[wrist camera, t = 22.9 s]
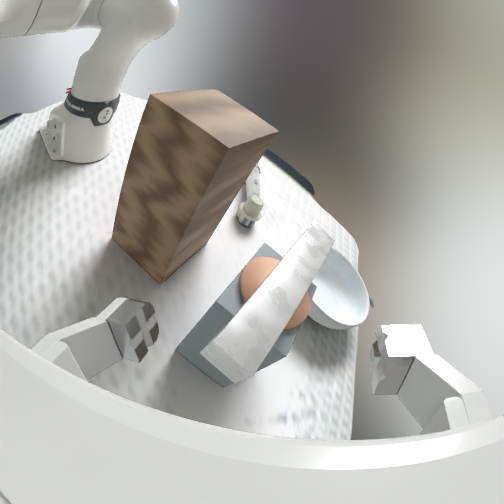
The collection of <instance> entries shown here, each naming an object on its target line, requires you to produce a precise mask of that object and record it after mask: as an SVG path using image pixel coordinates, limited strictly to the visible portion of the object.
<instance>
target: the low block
mask: <svg viewBox="0 0 504 504" xmlns="http://www.w3.org/2000/svg"><path fill="white" fill-rule="evenodd" d="M282 258H283V257H281V256H280V255H279V254H278V253H277V252H275V251H274V250H273V249H272V248H271V247H269V246H268V245H267V244H266V243H264V244H263V246H262V247H261V248H260V249H259V250H258V252H257V253H256V254H255V255H254V256H253V258H252V259H251V260H250V261H249V262H248V263H247V265H246V266H245V267H244V268H243V269H242V271H241V272H240V273H239V274H238V275H237V277H236V278H235V279H234V280H233V281H232V282H231V284H230V285H229V286H228V287H227V288H226V290H225V291H224V292H223V293H222V294H221V296H220V297H219V298H218V299H217V300H216V301H215V303H214V304H213V305H212V306H211V307H210V309H209V310H208V311H207V312H206V313H205V315H204V316H203V317H202V318H201V319H200V321H199V322H198V323H197V324H196V325H195V327H194V328H193V329H192V330H191V331H190V333H189V334H188V335H187V336H186V337H185V339H184V340H183V341H182V342H181V343H180V345H179V346H178V347H177V348H176V349H175V350H176V351H177V352H178V353H179V354H181V355H182V356H183V357H184V358H186V359H187V360H188V361H189V362H191V363H192V364H193V365H194V366H196V367H197V368H198V369H199V370H201V371H202V372H203V373H205V374H206V375H207V376H209V377H210V378H211V379H213V380H214V381H215V382H217V383H218V384H219V385H221V386H222V387H225V386H227V385H230V384H232V383H234V382H233V381H231V380H230V379H229V378H228V377H227V376H225V375H224V374H223V373H222V372H221V371H219V370H218V369H217V368H216V367H215V366H214V365H212V364H211V363H210V362H209V361H208V360H207V359H206V358H205V357H203V356H202V355H201V354H200V352H201V351H202V350H203V349H204V348H205V347H206V345H207V344H208V343H209V342H210V341H211V340H212V339H213V338H214V336H215V335H216V334H217V333H218V332H219V331H220V330H221V329H222V327H223V326H224V325H225V324H226V323H227V322H228V321H229V319H230V318H231V317H232V316H233V315H234V314H235V313H236V311H237V310H238V309H239V308H240V307H241V306H242V305H243V303H244V302H245V301H246V300H247V299H248V298H249V297H250V295H251V294H252V293H253V292H254V291H255V290H256V288H257V287H258V286H259V285H260V284H261V283H262V281H263V280H264V279H265V278H266V277H267V276H268V274H269V273H270V272H271V271H272V270H273V268H274V267H275V266H276V265H277V264H278V263H279V261H280V260H281V259H282ZM316 288H317V286H316V285H314V284H313V283H311V284H310V286H309V288H308V290H307V291H306V293H305V295H304V296H303V298H302V300H301V301H300V303H299V305H298V306H297V308H296V310H295V311H294V313H293V315H292V316H291V318H290V320H289V321H288V323H287V324H286V326H285V328H284V329H283V331H282V332H281V334H280V336H279V337H278V339H277V340H276V342H275V343H274V345H273V346H272V348H271V350H270V351H269V353H268V354H267V356H266V357H265V359H264V360H263V362H262V363H261V365H260V366H259V368H258V369H257V371H259V370H261V369H263V368H265V367H267V366H269V365H271V364H273V363H275V362H277V361H278V360H280V359H282V358H284V357H286V356H287V354H288V352H289V350H290V347H291V345H292V343H293V341H294V339H295V337H296V335H297V332H298V330H299V328H300V326H301V323H302V322H303V321H304V320H305V319H306V318H307V316H308V314H309V311H310V303H311V300H312V298H313V296H314V293H315V291H316ZM257 371H256V372H257Z"/></svg>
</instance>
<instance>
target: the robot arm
mask: <svg viewBox="0 0 504 504" xmlns="http://www.w3.org/2000/svg"><path fill="white" fill-rule="evenodd" d="M178 15H179V4H178V2H177V0H0V38H11V37H19V36H27V35H35V34H45V33H58V32H66V31H69V30H72V29H79V28H97V29H101V31H100V34H99V36H98V37H97V39H96V40H95V42H94V44H93V45H92V47H91V48H90V49H89V50H88V51H87V52H85V53H84V54H83V55H82V56H81V57H80V59H79V61H78V65H77V69H76V72H75V76H74V80H73V85H72V88H69V89H67V90H70V89H71V90H70V91H67V92H66V93H69V94H68V96H67V98H66V100H65V102H64V103H62V104H60V105H59V106H57V107H55V108H54V109H53V110H52V111H51V113H50V117H49V120H48V121H47V122H46V123H45V124H43V125H42V126H41V127H40V134H41V136H42V139H43V141H44V144H45V146H46V149H47V151H48V154H49V156H50V158H51V159H52V160H66V161H70V162H75V163H90V162H95V161H98V160H101V159H103V158H104V157H106V156H107V155H108V154H109V153H110V151H111V148H112V141H113V140H114V136H115V134H114V133H113V130H114V123H115V117H116V110H117V106H118V104H119V99H120V93H119V92H120V89H121V86H122V84H123V81H124V78H125V75H126V73H127V70H128V68H129V66H130V64H131V62H132V61H133V59H134V57H135V56H136V55H137V54H138V52H139V51H140V50H141V49H142V48H143V47H144V46H145V45H146V44H148V43H149V42H151V41H153V40H156V39H158V38H160V37H162V36H164V35H165V34H166V33H167V32H168V31H169V30H170V29H171V28H172V27H173V26H174V24H175V22H176V21H177V18H178ZM154 313H155V312H154V309H153V305H151V304H150V303H147V302H142V301H137V300H133V299H127V298H122V297H119V298H116V299H115V300H114V301H113V302H112V303H111V304H110V305H109V306H107V307H106V308H105V309H104V310H103V311H102V312H101V313H100V314H99V315H98V316H97V317H96V318H94V317H92V318H89V319H86V320H83V321H81V322H78V323H75V324H73V325H70V326H67V327H64V328H62V329H59V330H56V331H54V332H51V333H48V334H47V335H45V336H44V337H43V338H42V339H41V340H40V341H39V342H38V343H37V344H36V345H35V346H34V347H33V348H32V349H28V348H27V347H25V346H24V345H22V344H21V343H19V342H18V341H16V340H15V339H14V338H12V337H11V336H9V335H8V334H7V333H5V332H4V331H2V330H1V329H0V504H504V415H503V416H500V417H497V418H493V417H492V414H491V411H490V408H489V405H488V403H487V400H486V397H485V395H484V392H483V390H482V389H480V388H479V387H478V386H476V385H475V384H474V383H473V382H471V381H470V380H469V379H468V378H466V377H465V376H464V375H463V374H461V373H460V372H459V371H457V370H456V369H455V368H454V367H452V366H451V365H450V364H448V363H447V362H446V361H445V360H443V359H442V358H441V357H439V356H438V355H433V352H432V349H431V347H430V344H429V342H428V340H427V337H426V335H425V332H424V330H423V328H422V325H420V324H406V325H379V326H378V328H377V331H376V338H377V341H376V342H375V343H373V345H372V349H371V354H370V370H371V371H372V372H373V373H374V375H373V378H372V386H373V394H374V395H397V397H398V398H399V399H400V401H401V402H402V403H403V404H404V406H405V407H406V408H407V410H408V411H409V412H410V413H411V415H412V416H413V417H414V418H415V420H416V421H417V422H418V423H419V425H420V426H421V427H422V429H423V430H422V432H421V433H420V434H419V435H417V436H409V437H400V438H390V439H374V440H316V439H300V438H289V437H279V436H271V435H264V434H257V433H250V432H244V431H239V430H233V429H228V428H223V427H219V426H214V425H210V424H206V423H201V422H198V421H194V420H190V419H186V418H183V417H179V416H176V415H172V414H169V413H166V412H163V411H160V410H157V409H154V408H151V407H148V406H145V405H142V404H139V403H137V402H134V401H131V400H129V399H126V398H124V397H121V396H119V395H116V394H114V393H112V392H109V391H107V390H105V389H103V388H100V387H98V386H96V385H94V384H92V383H89V382H88V381H87V380H88V379H89V378H91V377H93V376H94V375H96V374H98V373H100V372H101V371H103V370H105V369H106V368H108V367H110V366H111V365H113V364H115V363H117V362H118V361H120V360H122V358H125V359H128V360H132V361H135V362H139V363H140V362H141V360H142V359H143V358H144V356H145V355H146V354H147V352H148V348H147V347H149V346H151V345H153V344H154V343H155V341H156V340H157V337H158V334H159V326H158V323H157V321H156V320H155V319H154V317H153V315H154Z"/></svg>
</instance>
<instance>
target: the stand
mask: <svg viewBox="0 0 504 504" xmlns="http://www.w3.org/2000/svg"><path fill="white" fill-rule="evenodd" d="M277 133H278V130H276V129H275V128H274V127H272V126H271V125H269V124H268V123H267V122H265V121H264V120H262V119H260V118H259V117H258V116H256V115H255V114H253V113H252V112H251V111H249V110H247V109H246V108H244V107H243V106H241V105H240V104H238V103H237V102H235V101H233V100H232V99H231V98H229V97H227V96H226V95H224V94H223V93H221V92H219V91H218V90H191V91H177V92H165V93H156V94H150V96H149V99H148V101H147V104H146V107H145V110H144V113H143V115H142V118H141V121H140V124H139V127H138V130H137V134H136V137H135V140H134V143H133V147H132V150H131V154H130V157H129V161H128V165H127V168H126V172H125V176H124V180H123V184H122V189H121V193H120V198H119V202H118V207H117V212H116V217H115V222H114V228H113V234H112V238H113V239H114V240H115V241H116V242H117V243H118V244H119V245H120V246H121V247H122V248H123V249H124V250H125V251H126V252H127V253H128V254H129V255H130V256H131V257H132V258H133V259H134V260H135V261H136V262H137V263H138V264H139V265H140V266H141V267H142V268H143V269H144V270H145V271H146V272H147V273H149V274H150V275H151V276H152V277H153V278H154V279H155V280H156V281H157V282H158V283H159V284H160V285H161V284H162V283H163V282H164V281H165V280H166V279H167V278H168V277H169V276H170V275H172V274H173V273H174V272H175V271H176V270H177V269H178V268H179V267H180V266H182V265H183V264H184V263H185V262H186V261H187V260H188V259H189V258H191V257H192V256H193V255H194V254H195V253H196V252H197V251H198V250H200V249H201V248H202V247H203V246H204V245H205V244H206V243H207V242H208V240H209V239H210V237H211V235H212V234H213V232H214V231H215V229H216V227H217V226H218V224H219V222H220V221H221V219H222V218H223V216H224V214H225V213H226V211H227V209H228V208H229V206H230V205H231V203H232V202H233V200H234V198H235V197H236V195H237V194H238V192H239V191H240V189H241V187H242V186H243V184H244V183H245V181H246V180H247V178H248V177H249V175H250V173H251V172H252V170H253V169H254V167H255V166H256V164H257V163H258V161H259V160H260V158H261V157H262V155H263V154H264V152H265V151H266V149H267V148H268V146H269V145H270V143H271V141H272V140H273V139H274V137H275V136H276V134H277Z"/></svg>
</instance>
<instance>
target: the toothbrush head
mask: <svg viewBox="0 0 504 504" xmlns="http://www.w3.org/2000/svg"><path fill="white" fill-rule="evenodd" d="M259 174H260V169H259V167H258V164H256V166H255V167H254V169H253V170H252V172H251V173H250V175H249V177H248V178H247V180H246V193H247V201H246V202H242V203H241V204H240V205H239V210H238V212H237V216H236V217H238V218H239V221H240V222H241V223H242V224H243V225H245V226H248V227H249V226H253V224H255V222H256V221H258V220H259V219H260V218H261V212H260V211H261V209H262V207H263V201H262V199H261V198H260V185H259Z"/></svg>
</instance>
